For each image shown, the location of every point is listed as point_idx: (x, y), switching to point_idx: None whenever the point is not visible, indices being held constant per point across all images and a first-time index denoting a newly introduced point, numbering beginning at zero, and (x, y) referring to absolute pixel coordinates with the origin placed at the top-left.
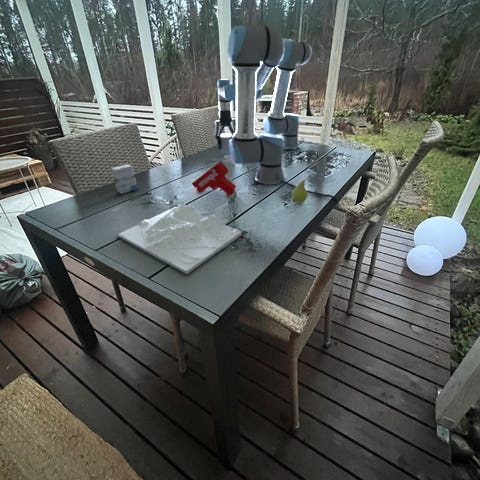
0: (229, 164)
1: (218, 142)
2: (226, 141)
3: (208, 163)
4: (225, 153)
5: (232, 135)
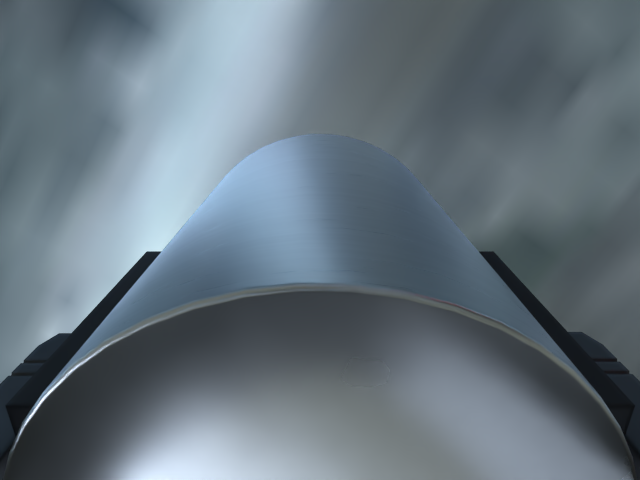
0: (394, 20)
1: (602, 366)
2: (445, 234)
3: (586, 235)
4: (406, 169)
5: (80, 388)
